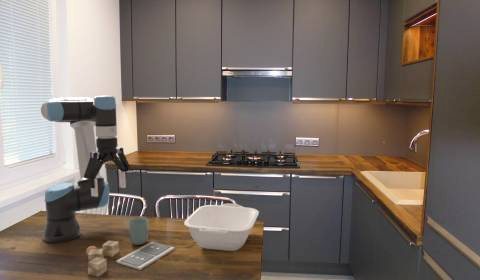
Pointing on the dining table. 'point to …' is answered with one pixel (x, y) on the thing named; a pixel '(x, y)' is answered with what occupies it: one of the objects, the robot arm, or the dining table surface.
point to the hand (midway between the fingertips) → (109, 191)
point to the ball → (90, 249)
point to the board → (145, 255)
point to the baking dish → (221, 226)
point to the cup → (138, 230)
